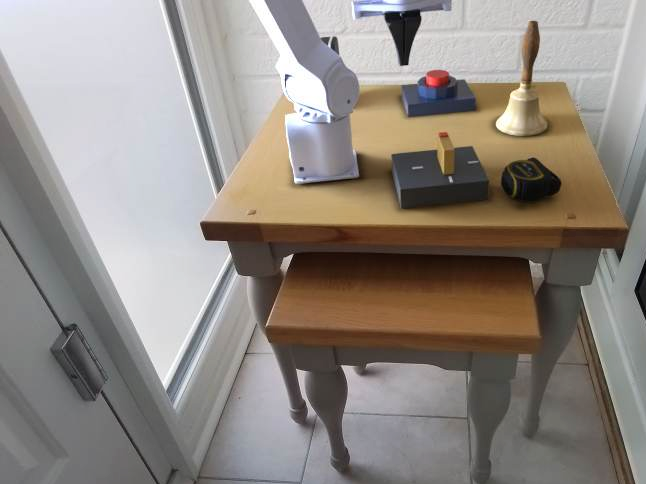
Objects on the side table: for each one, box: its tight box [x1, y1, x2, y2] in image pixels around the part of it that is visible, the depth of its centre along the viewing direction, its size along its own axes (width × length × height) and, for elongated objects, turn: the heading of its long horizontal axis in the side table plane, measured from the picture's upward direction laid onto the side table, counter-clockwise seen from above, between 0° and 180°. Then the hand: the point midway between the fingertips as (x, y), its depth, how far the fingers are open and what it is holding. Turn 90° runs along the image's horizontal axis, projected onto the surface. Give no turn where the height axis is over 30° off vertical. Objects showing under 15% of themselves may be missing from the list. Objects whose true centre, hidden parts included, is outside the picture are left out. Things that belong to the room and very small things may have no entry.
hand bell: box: [495, 20, 548, 137], centre depth 84 cm, size 8×8×16 cm
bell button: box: [425, 69, 450, 87], centre depth 94 cm, size 4×4×2 cm
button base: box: [400, 74, 477, 118], centre depth 96 cm, size 12×9×4 cm
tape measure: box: [500, 156, 562, 203], centre depth 72 cm, size 7×7×4 cm
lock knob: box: [436, 131, 455, 175], centre depth 73 cm, size 5×1×4 cm, turn 5°
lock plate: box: [391, 145, 490, 209], centre depth 75 cm, size 12×10×3 cm
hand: (403, 63), depth 84 cm, fingers closed
